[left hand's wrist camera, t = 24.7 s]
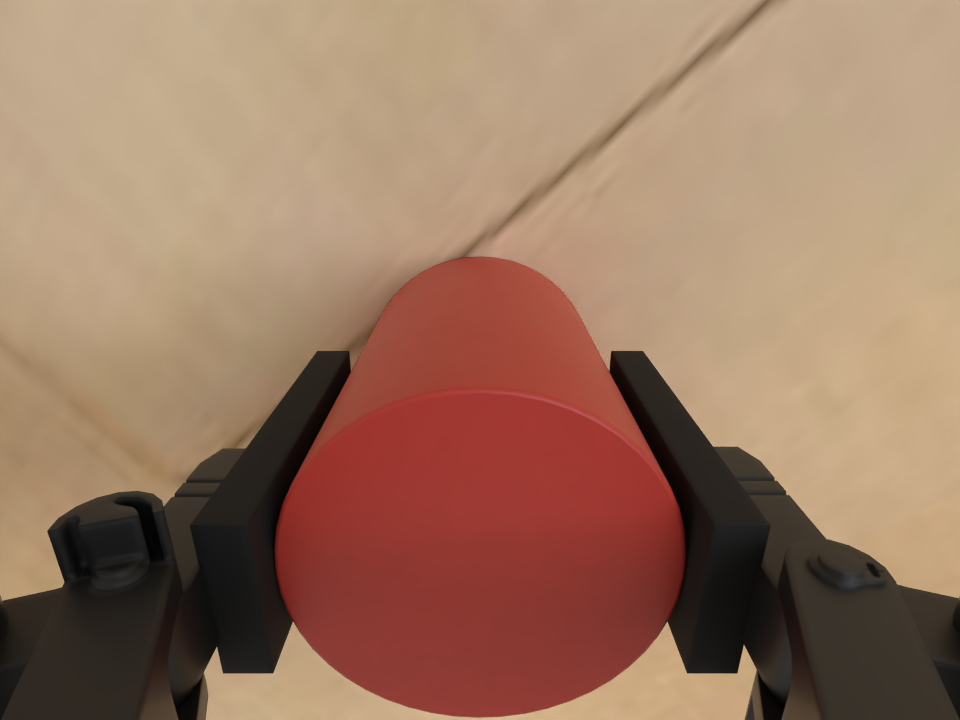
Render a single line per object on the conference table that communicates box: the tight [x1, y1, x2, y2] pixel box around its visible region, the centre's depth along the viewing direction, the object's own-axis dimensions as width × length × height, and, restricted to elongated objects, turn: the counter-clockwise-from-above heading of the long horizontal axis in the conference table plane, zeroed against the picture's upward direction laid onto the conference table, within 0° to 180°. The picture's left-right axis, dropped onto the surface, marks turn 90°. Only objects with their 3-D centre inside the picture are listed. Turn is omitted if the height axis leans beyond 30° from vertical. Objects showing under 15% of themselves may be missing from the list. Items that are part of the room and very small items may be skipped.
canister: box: [274, 257, 686, 717], centre depth 13 cm, size 6×6×8 cm
